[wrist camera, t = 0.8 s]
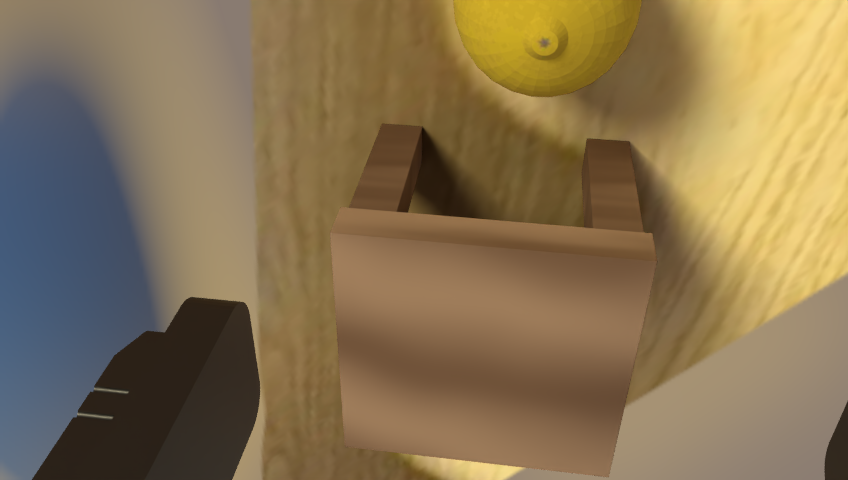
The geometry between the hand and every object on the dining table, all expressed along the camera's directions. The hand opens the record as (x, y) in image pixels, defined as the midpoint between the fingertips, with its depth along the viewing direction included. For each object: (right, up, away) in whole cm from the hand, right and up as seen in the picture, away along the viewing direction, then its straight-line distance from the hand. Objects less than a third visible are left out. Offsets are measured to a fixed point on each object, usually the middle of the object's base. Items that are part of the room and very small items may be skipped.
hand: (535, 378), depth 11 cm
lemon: (+3, +12, +16) cm, 20 cm away
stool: (+2, +2, +23) cm, 23 cm away
